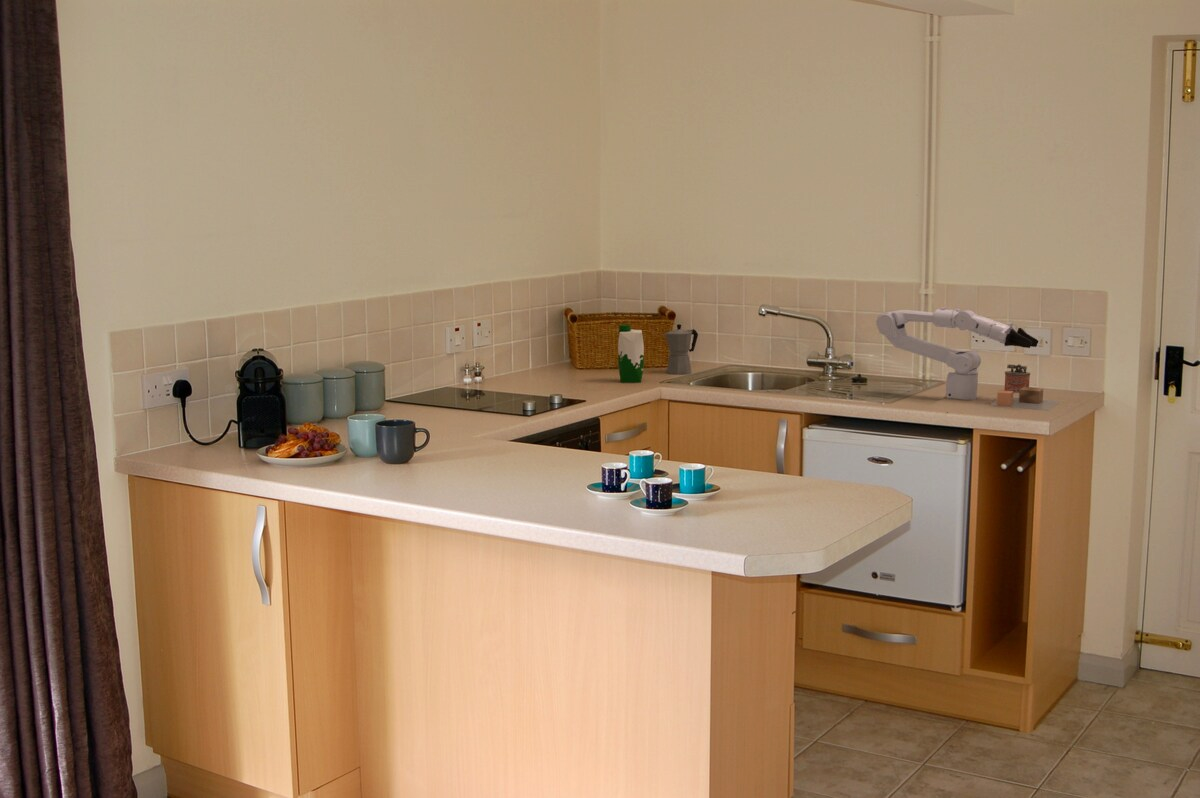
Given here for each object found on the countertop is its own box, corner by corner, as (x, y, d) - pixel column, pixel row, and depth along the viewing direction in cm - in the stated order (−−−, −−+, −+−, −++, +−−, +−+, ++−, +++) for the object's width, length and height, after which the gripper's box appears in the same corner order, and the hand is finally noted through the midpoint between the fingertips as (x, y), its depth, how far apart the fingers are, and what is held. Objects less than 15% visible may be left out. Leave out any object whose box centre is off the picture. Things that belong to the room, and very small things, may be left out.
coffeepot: (672, 376, 466) (673, 326, 463) (656, 372, 473) (656, 324, 470) (705, 372, 475) (705, 323, 471) (689, 369, 482) (689, 321, 479)
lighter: (1029, 394, 422) (1031, 364, 420) (1028, 396, 419) (1030, 365, 417) (1004, 392, 426) (1005, 363, 424) (1003, 394, 423) (1004, 364, 421)
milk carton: (618, 379, 460) (618, 323, 456) (643, 379, 459) (643, 323, 456) (618, 383, 451) (618, 326, 447) (644, 383, 451) (643, 326, 447)
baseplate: (988, 408, 398) (988, 405, 398) (1001, 399, 413) (1002, 396, 413) (1048, 413, 389) (1049, 410, 389) (1060, 404, 404) (1060, 401, 404)
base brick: (1018, 402, 403) (1019, 389, 402) (1023, 399, 408) (1023, 386, 407) (1038, 403, 400) (1039, 391, 399) (1042, 400, 405) (1043, 388, 404)
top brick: (996, 405, 398) (997, 392, 398) (999, 402, 402) (1000, 390, 401) (1009, 406, 396) (1010, 393, 396) (1012, 404, 400) (1013, 391, 399)
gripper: (990, 318, 397) (1032, 332, 390) (1003, 317, 409) (1044, 331, 402) (982, 339, 398) (1024, 354, 392) (995, 337, 410) (1036, 352, 404)
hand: (1034, 344), depth 397 cm, fingers open, 7 cm apart
